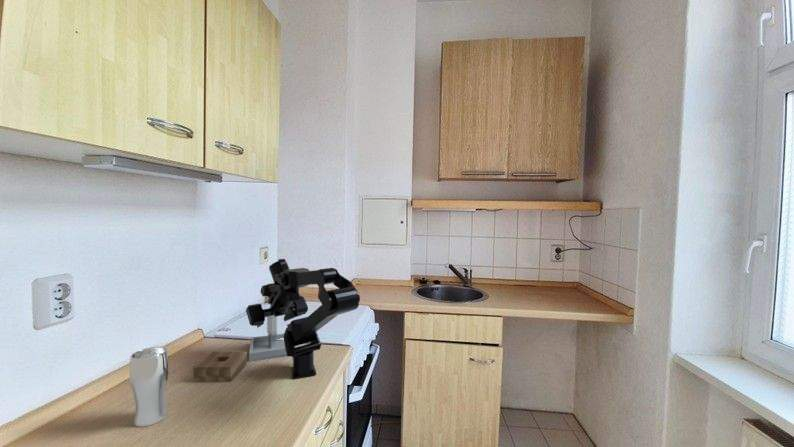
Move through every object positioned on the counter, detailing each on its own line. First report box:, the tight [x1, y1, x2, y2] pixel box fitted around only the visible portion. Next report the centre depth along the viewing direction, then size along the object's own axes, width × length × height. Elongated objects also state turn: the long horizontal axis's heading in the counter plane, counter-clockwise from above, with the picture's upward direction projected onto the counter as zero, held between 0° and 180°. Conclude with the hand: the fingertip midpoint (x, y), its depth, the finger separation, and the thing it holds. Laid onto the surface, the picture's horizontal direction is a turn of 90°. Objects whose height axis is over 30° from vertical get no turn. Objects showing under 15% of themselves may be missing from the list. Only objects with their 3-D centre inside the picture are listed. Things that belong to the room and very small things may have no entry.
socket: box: [193, 351, 248, 383], centre depth 96 cm, size 10×10×4 cm
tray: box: [248, 333, 297, 362], centre depth 112 cm, size 14×14×2 cm
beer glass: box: [129, 346, 170, 428], centre depth 74 cm, size 7×7×15 cm
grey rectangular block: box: [266, 316, 278, 348], centre depth 112 cm, size 4×2×11 cm, turn 43°
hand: (271, 323), depth 113 cm, fingers open, 9 cm apart
